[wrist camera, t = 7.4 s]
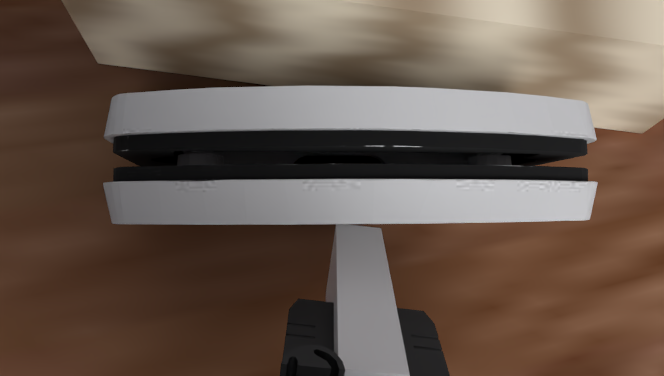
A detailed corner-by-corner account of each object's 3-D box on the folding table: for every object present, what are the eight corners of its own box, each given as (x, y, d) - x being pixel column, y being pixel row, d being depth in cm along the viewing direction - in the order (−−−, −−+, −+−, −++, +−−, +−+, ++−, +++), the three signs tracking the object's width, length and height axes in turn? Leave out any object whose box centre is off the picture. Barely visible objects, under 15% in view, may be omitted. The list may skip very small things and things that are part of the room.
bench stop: (97, 63, 23) (37, -42, 17) (111, 20, 24) (58, -93, 18) (642, 133, 24) (750, 57, 18) (634, 89, 25) (735, 4, 19)
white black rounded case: (507, 115, 24) (671, 50, 14) (509, 214, 23) (676, 221, 13) (147, 110, 22) (35, 32, 12) (147, 216, 22) (31, 227, 12)
